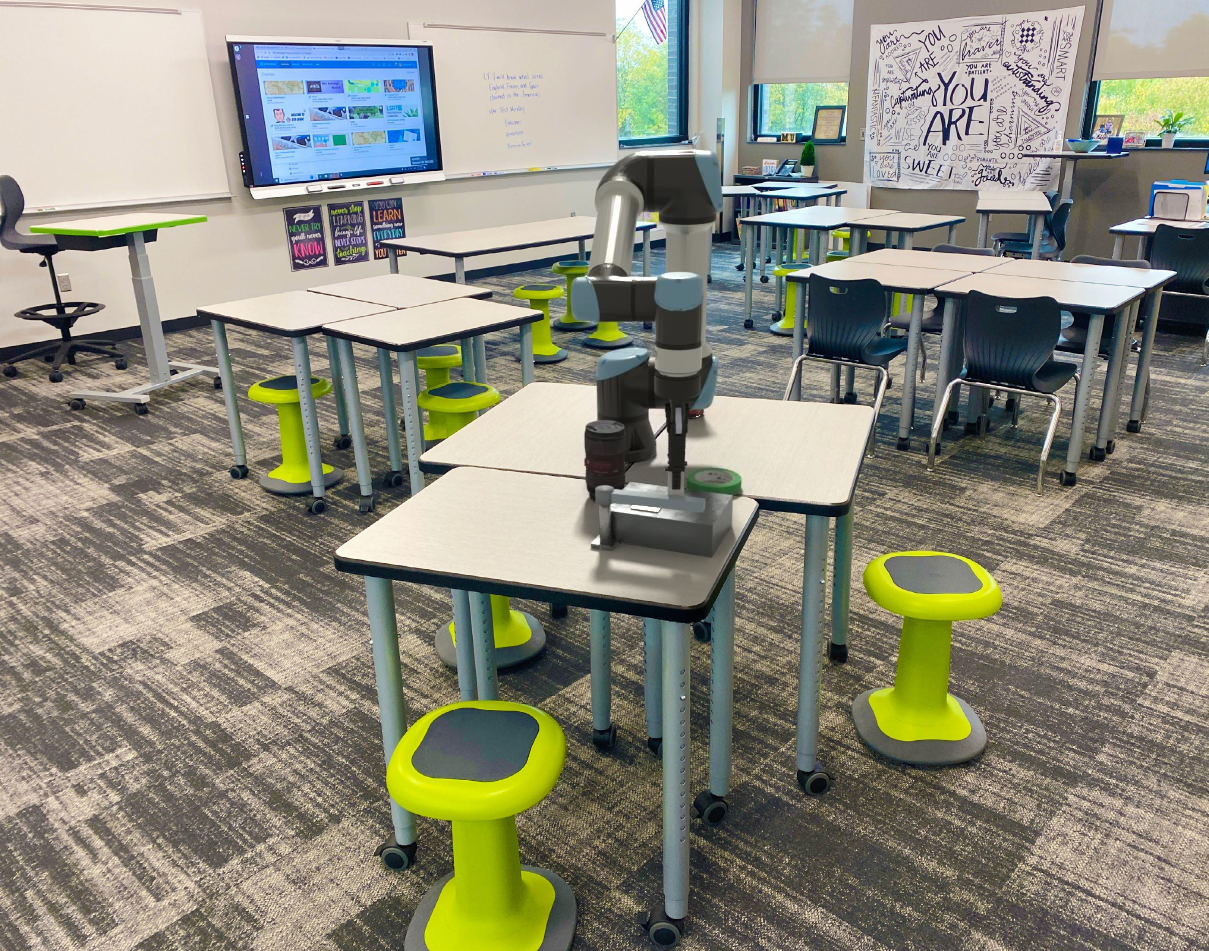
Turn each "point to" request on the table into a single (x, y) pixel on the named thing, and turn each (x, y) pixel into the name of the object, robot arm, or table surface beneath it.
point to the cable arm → (648, 499)
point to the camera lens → (604, 455)
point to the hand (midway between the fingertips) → (675, 503)
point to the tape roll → (714, 474)
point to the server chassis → (666, 523)
